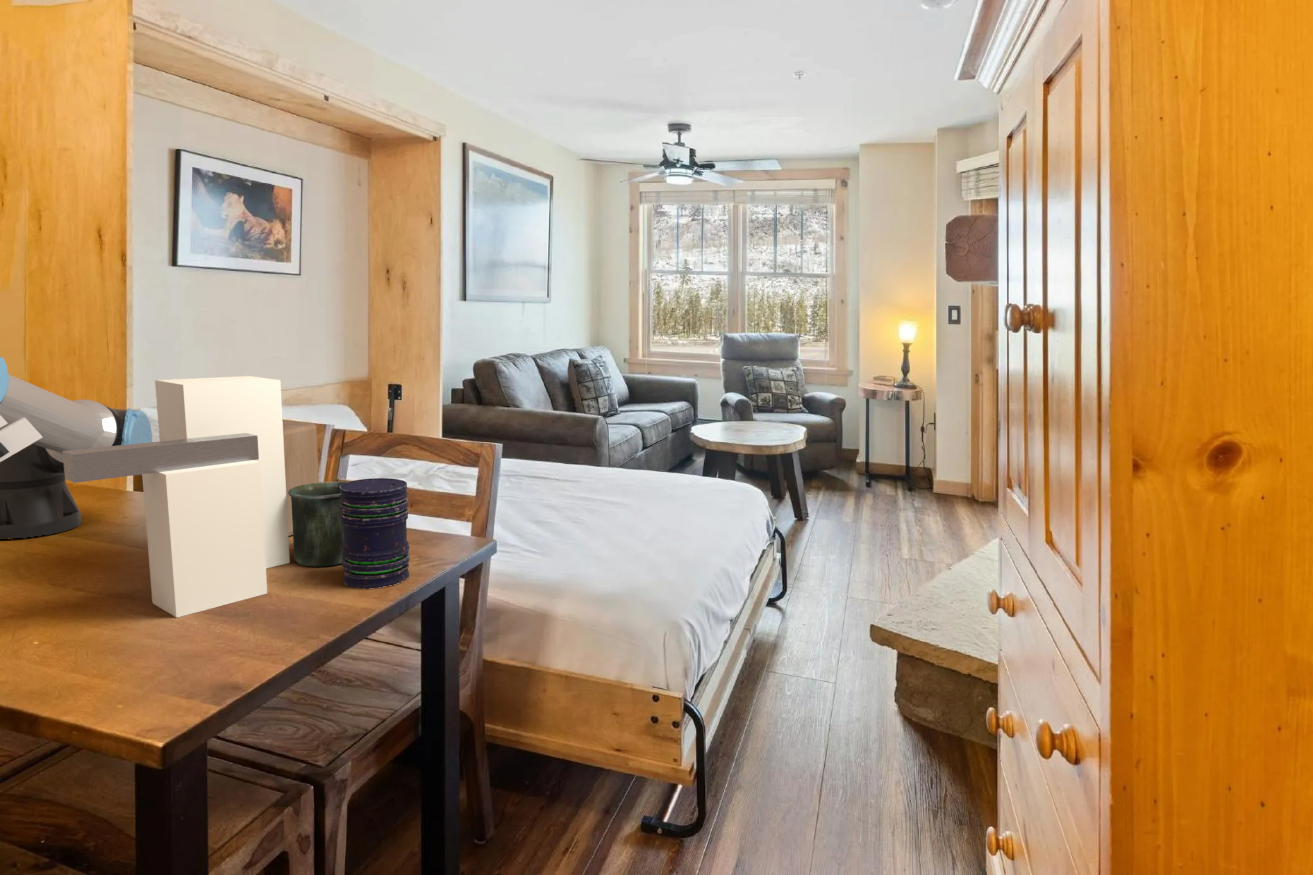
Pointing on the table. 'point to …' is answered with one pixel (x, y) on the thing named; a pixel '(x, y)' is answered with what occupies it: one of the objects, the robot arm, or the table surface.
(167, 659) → the table surface
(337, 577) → the table surface
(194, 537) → the step
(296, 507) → the mug
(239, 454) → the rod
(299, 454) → the block
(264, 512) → the stand
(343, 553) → the dark purple barrel
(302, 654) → the table surface
